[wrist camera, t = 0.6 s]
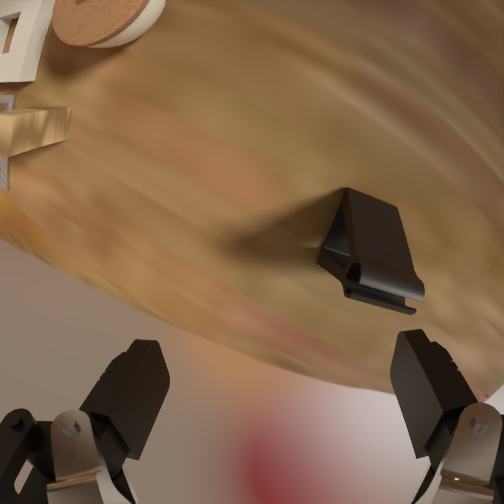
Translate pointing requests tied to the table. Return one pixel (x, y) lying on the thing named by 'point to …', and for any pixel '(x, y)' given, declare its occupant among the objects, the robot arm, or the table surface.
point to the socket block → (23, 37)
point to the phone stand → (371, 254)
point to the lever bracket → (4, 103)
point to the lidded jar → (104, 21)
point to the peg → (32, 128)
